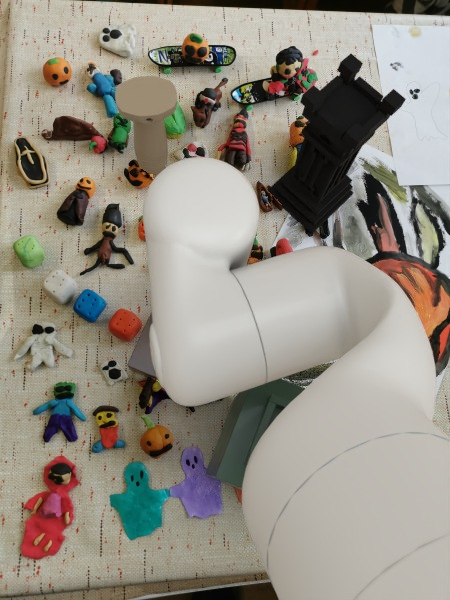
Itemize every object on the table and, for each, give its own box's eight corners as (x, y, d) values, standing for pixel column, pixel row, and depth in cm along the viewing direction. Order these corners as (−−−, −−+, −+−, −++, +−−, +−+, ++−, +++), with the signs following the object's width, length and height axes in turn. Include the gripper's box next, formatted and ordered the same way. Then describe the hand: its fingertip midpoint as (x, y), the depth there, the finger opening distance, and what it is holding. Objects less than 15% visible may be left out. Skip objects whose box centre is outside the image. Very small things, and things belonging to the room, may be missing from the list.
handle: (126, 155, 73) (113, 78, 58) (175, 151, 73) (174, 74, 59) (130, 188, 71) (117, 118, 57) (180, 183, 72) (179, 113, 58)
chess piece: (266, 192, 73) (296, 94, 54) (307, 155, 75) (350, 48, 56) (311, 233, 71) (358, 148, 52) (351, 195, 73) (411, 99, 54)
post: (280, 506, 62) (330, 525, 41) (204, 474, 62) (216, 477, 41) (306, 428, 64) (366, 409, 43) (233, 398, 65) (258, 365, 44)
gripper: (244, 372, 44) (226, 399, 61) (240, 178, 48) (225, 255, 66) (147, 371, 43) (157, 399, 60) (153, 176, 48) (161, 254, 65)
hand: (193, 324), depth 63 cm, fingers closed on knob, 4 cm apart
